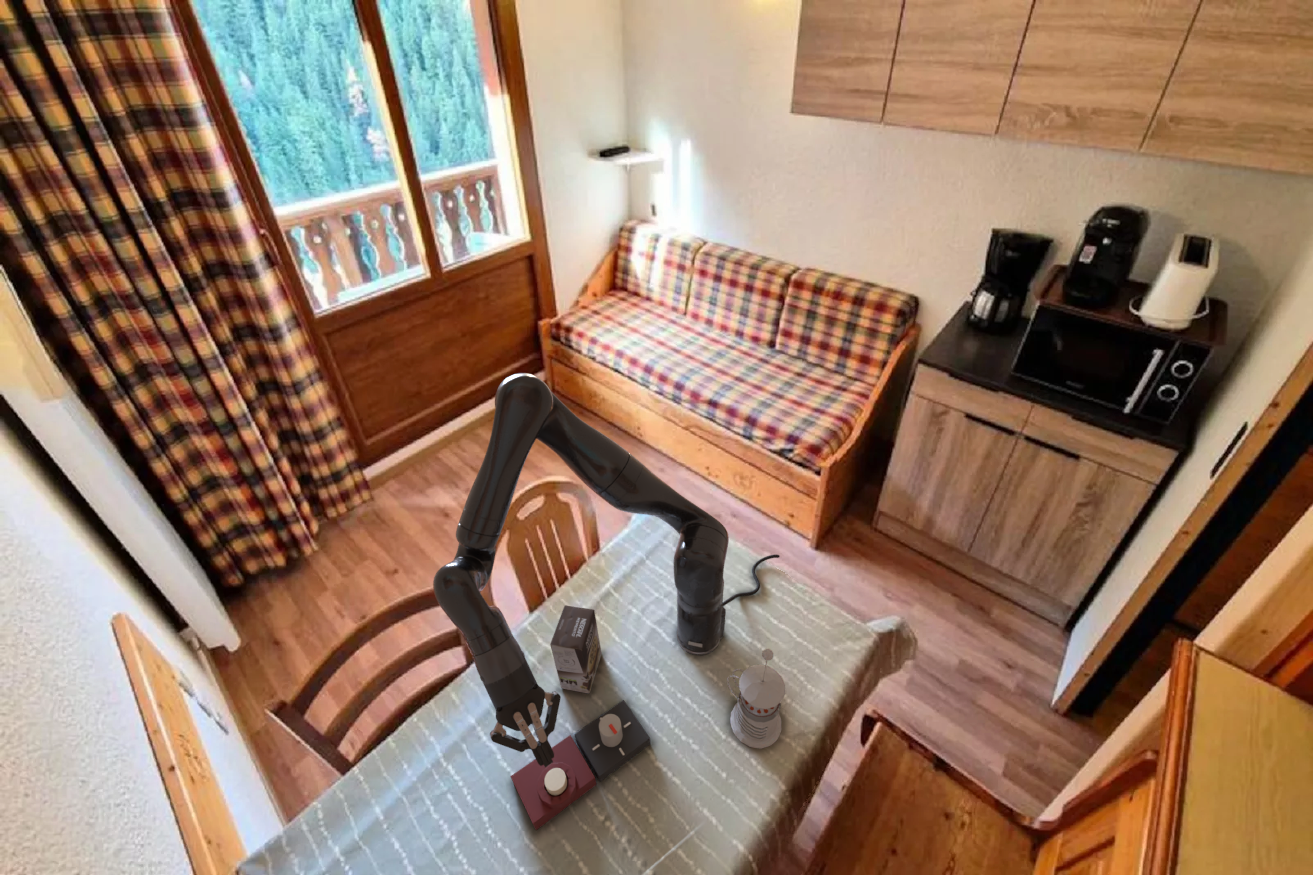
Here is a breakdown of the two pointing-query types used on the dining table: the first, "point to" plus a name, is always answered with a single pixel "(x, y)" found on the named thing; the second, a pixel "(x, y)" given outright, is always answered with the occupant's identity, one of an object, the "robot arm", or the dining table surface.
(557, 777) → the button
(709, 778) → the dining table surface
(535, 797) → the red button box
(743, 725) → the french press
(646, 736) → the panel
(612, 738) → the timer knob
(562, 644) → the coffee box
